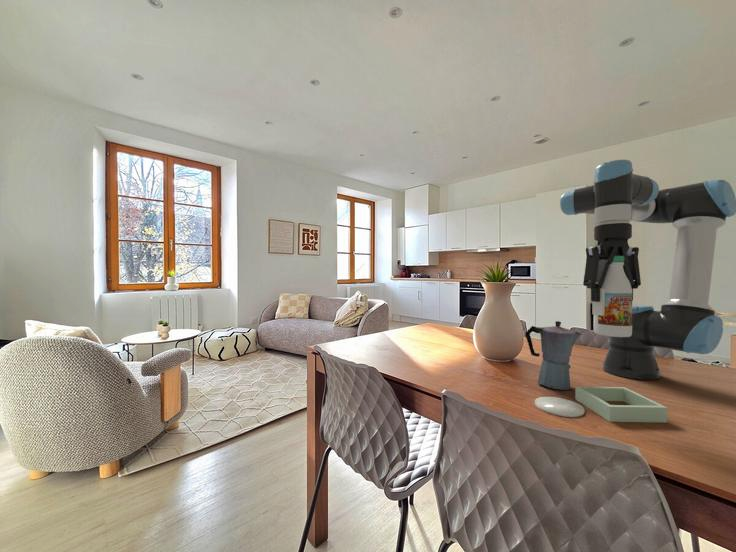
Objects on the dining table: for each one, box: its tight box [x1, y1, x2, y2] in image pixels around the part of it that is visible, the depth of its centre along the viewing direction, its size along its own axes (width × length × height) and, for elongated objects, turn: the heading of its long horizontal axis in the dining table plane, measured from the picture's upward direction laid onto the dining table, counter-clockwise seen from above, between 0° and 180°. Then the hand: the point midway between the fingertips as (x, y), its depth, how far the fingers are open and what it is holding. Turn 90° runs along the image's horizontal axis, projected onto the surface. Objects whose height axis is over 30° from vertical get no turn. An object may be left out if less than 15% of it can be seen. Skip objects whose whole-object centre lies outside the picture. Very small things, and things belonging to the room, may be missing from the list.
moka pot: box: [524, 320, 582, 391], centre depth 97 cm, size 10×15×20 cm, turn 78°
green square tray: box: [574, 386, 668, 423], centre depth 80 cm, size 13×13×4 cm
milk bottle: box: [593, 256, 633, 337], centre depth 79 cm, size 8×8×20 cm
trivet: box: [534, 396, 585, 418], centre depth 81 cm, size 11×11×1 cm
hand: (612, 314), depth 79 cm, fingers closed on milk bottle, 8 cm apart
